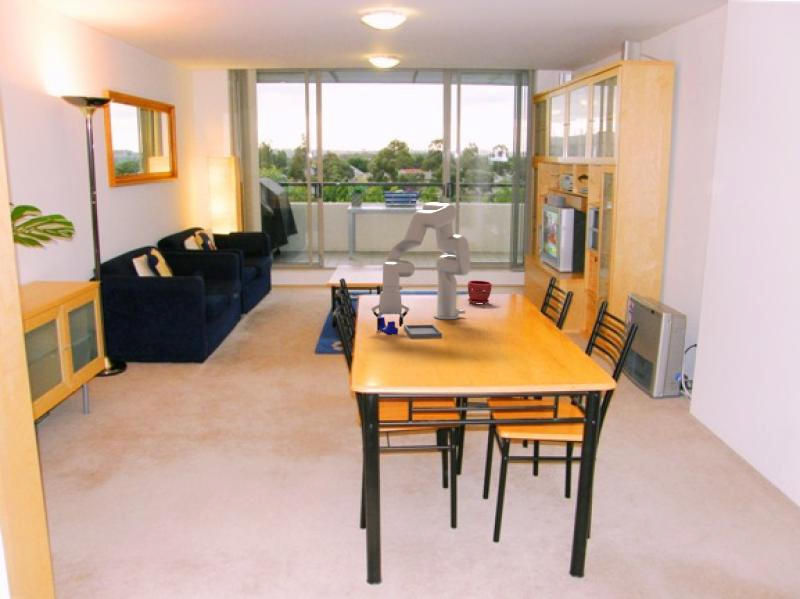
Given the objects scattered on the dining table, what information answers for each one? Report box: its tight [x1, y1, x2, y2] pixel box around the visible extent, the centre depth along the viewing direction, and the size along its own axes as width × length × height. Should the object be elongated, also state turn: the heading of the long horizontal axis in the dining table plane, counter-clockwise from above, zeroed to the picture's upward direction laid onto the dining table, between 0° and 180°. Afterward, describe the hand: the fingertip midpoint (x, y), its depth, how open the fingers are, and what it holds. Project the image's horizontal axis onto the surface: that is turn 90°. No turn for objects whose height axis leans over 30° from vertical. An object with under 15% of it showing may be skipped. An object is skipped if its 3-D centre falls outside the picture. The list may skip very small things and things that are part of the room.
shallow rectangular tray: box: [403, 324, 443, 339], centre depth 327 cm, size 14×18×2 cm
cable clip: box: [376, 316, 399, 336], centre depth 329 cm, size 12×4×6 cm, turn 29°
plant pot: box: [467, 280, 493, 304], centre depth 402 cm, size 13×13×12 cm
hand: (389, 326), depth 329 cm, fingers open, 9 cm apart
